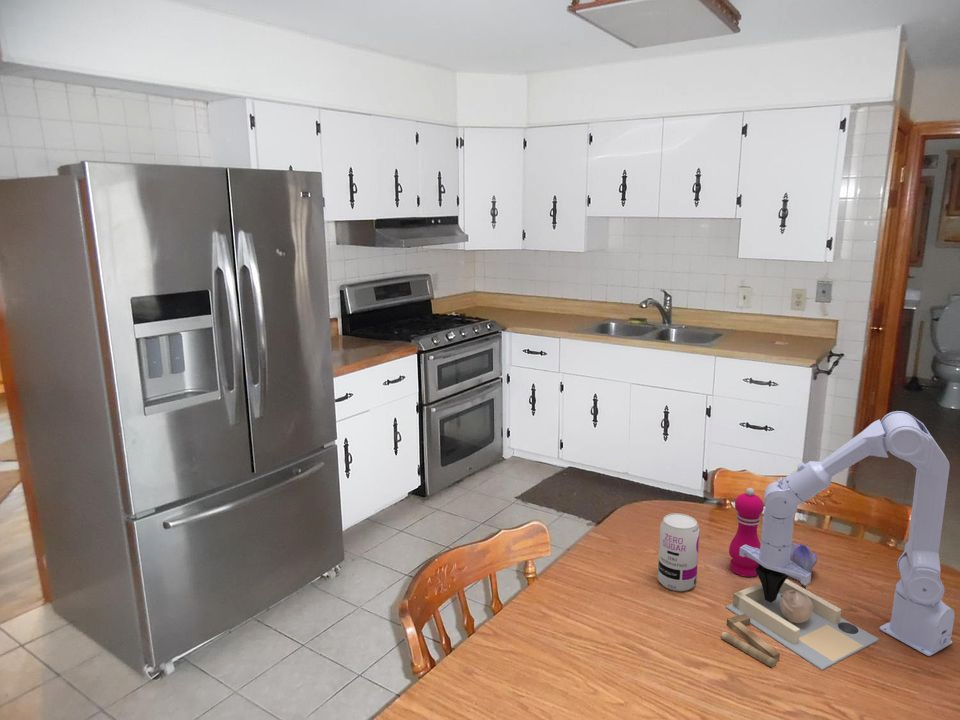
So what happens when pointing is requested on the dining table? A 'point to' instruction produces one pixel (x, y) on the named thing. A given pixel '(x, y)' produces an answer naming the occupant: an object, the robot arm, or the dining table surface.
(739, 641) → the straight stick
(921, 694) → the dining table surface
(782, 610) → the garlic bulb
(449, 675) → the dining table surface
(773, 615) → the cubby board
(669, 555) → the supplement can
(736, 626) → the crook tool
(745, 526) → the pepper mill
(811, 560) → the flower
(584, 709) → the dining table surface
